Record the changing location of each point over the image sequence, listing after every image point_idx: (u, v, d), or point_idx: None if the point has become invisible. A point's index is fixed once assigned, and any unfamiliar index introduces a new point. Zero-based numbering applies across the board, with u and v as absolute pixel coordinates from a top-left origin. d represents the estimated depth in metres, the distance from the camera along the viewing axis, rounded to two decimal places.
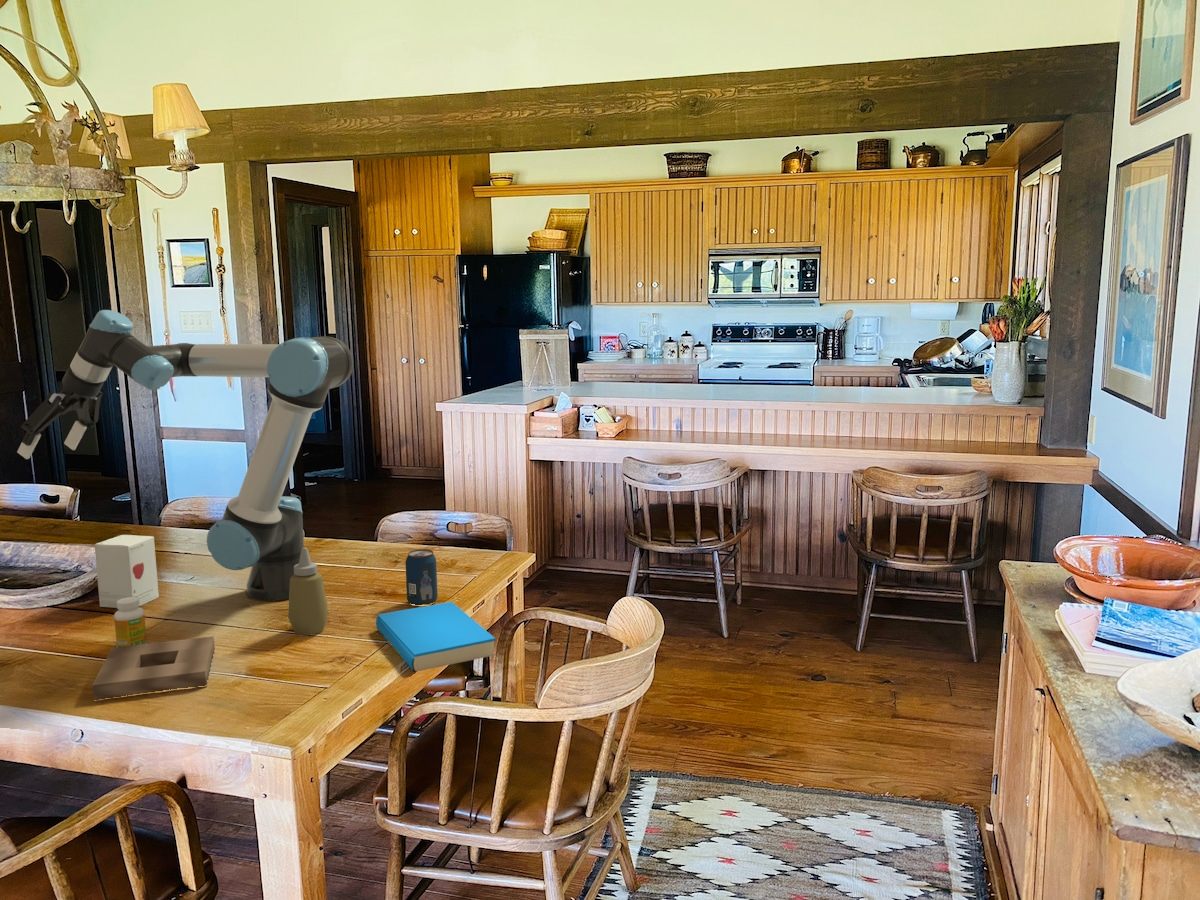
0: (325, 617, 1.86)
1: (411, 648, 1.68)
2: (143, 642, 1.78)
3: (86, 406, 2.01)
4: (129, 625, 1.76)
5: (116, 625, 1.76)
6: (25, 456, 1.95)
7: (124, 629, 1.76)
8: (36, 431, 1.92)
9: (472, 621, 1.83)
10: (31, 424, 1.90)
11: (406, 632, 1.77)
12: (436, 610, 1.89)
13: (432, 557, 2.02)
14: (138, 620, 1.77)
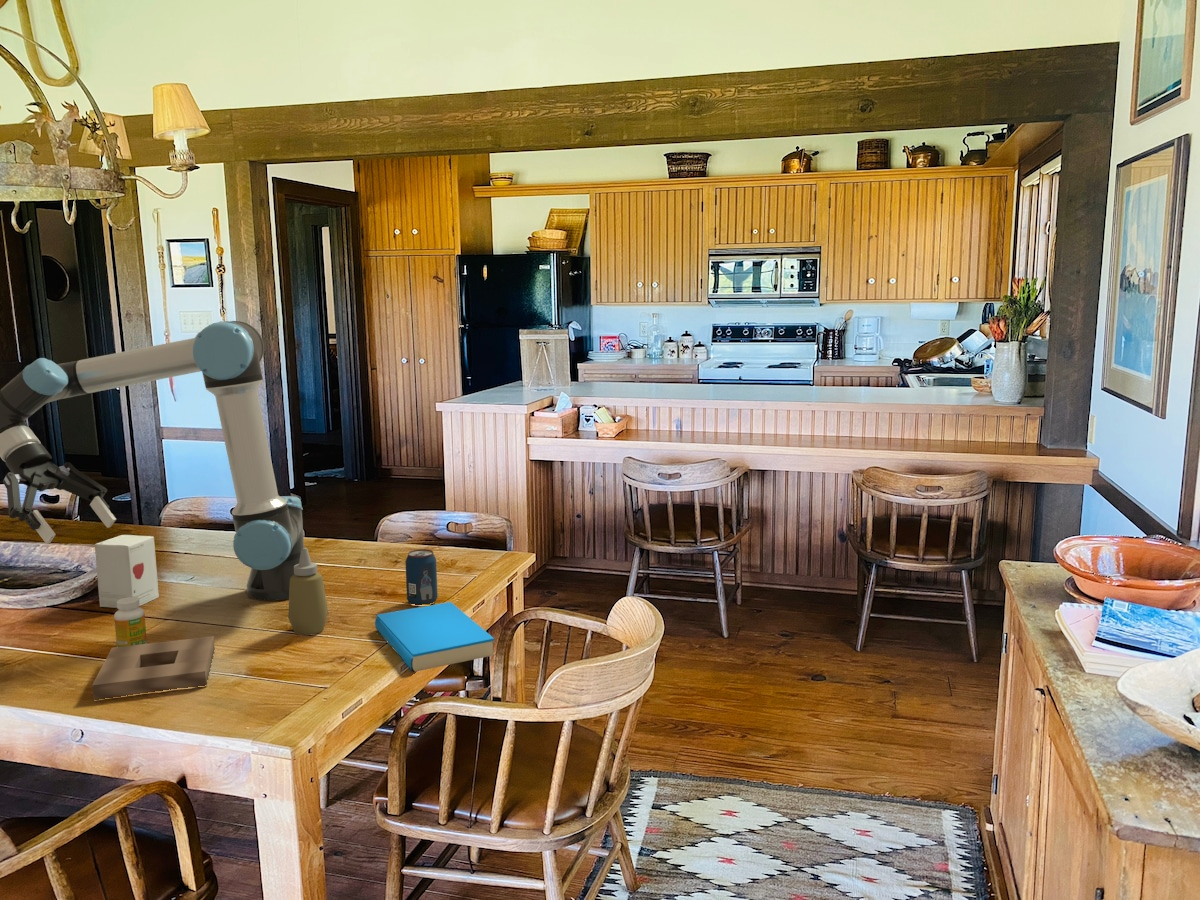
0: (325, 617, 1.86)
1: (410, 648, 1.68)
2: (143, 642, 1.78)
3: (61, 474, 1.83)
4: (129, 625, 1.76)
5: (116, 625, 1.76)
6: (50, 535, 1.72)
7: (124, 628, 1.76)
8: (25, 508, 1.72)
9: (471, 621, 1.83)
10: (11, 506, 1.72)
11: (405, 632, 1.77)
12: (435, 610, 1.89)
13: (432, 557, 2.02)
14: (138, 620, 1.77)
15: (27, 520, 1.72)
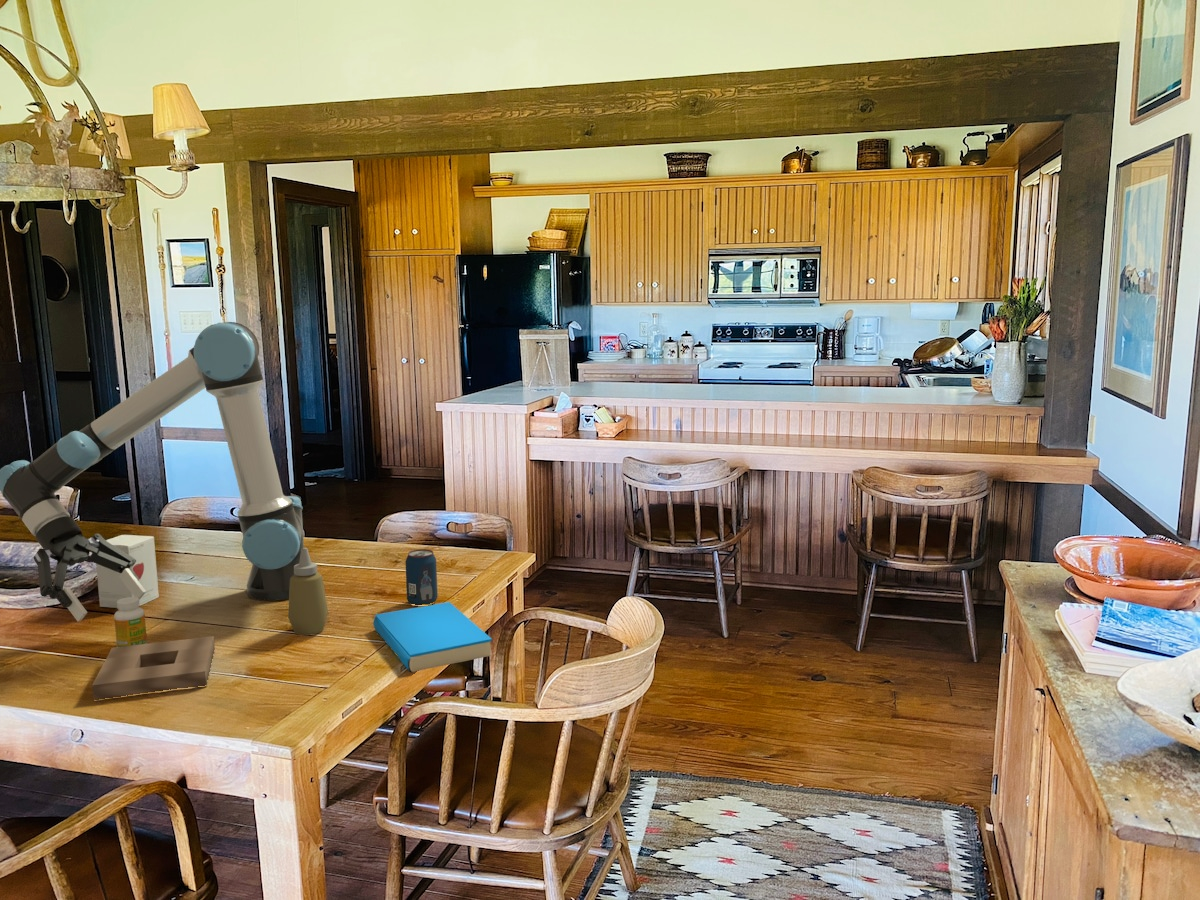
0: (325, 617, 1.86)
1: (407, 649, 1.68)
2: (143, 642, 1.78)
3: (90, 547, 1.82)
4: (129, 625, 1.76)
5: (116, 625, 1.76)
6: (81, 613, 1.71)
7: (124, 628, 1.76)
8: (56, 586, 1.71)
9: (469, 621, 1.82)
10: (43, 584, 1.71)
11: (403, 632, 1.77)
12: (433, 610, 1.89)
13: (432, 557, 2.02)
14: (138, 620, 1.77)
15: (58, 598, 1.71)
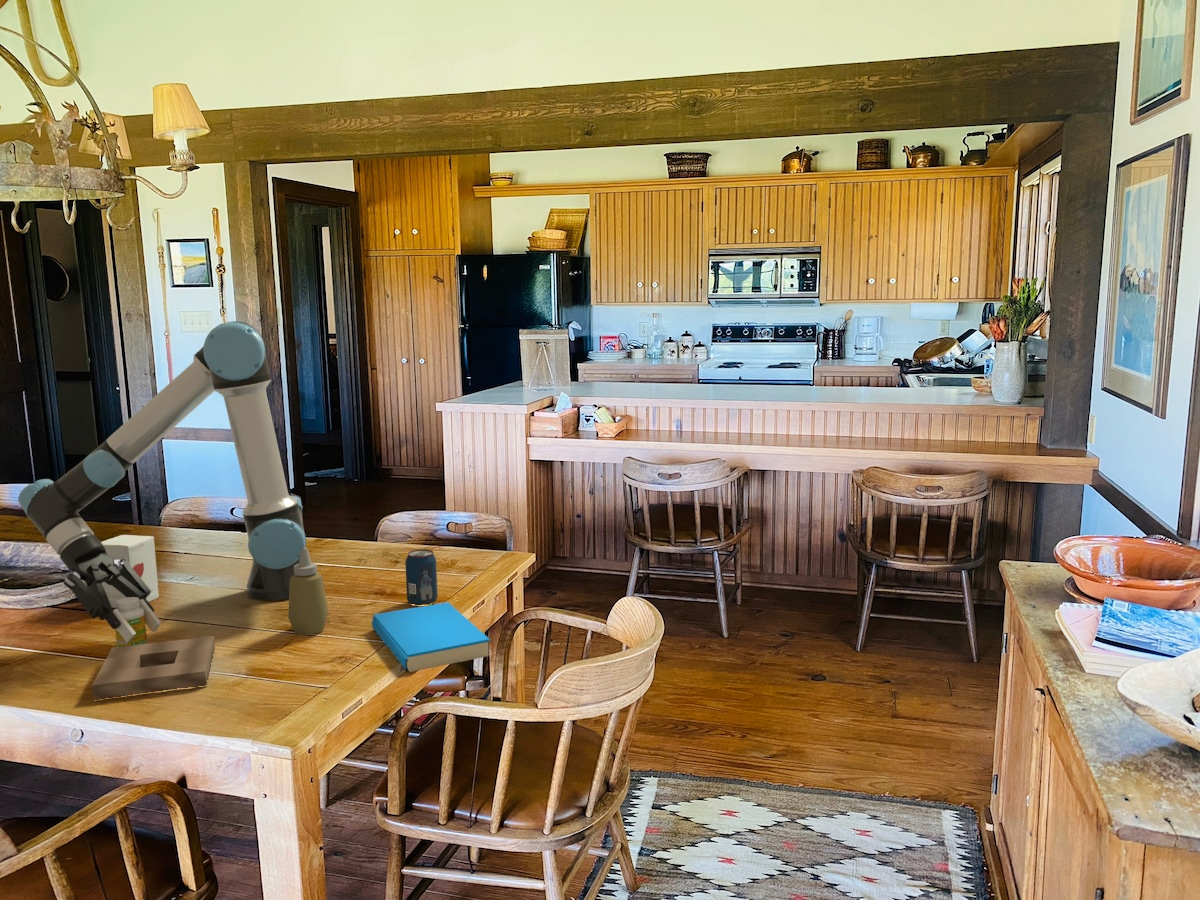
0: (325, 617, 1.86)
1: (405, 649, 1.68)
2: (143, 642, 1.78)
3: (113, 568, 1.80)
4: None
5: None
6: (130, 634, 1.74)
7: None
8: (105, 608, 1.74)
9: (467, 622, 1.82)
10: (91, 607, 1.72)
11: (401, 632, 1.77)
12: (432, 610, 1.89)
13: (432, 557, 2.02)
14: (138, 620, 1.77)
15: (108, 620, 1.74)
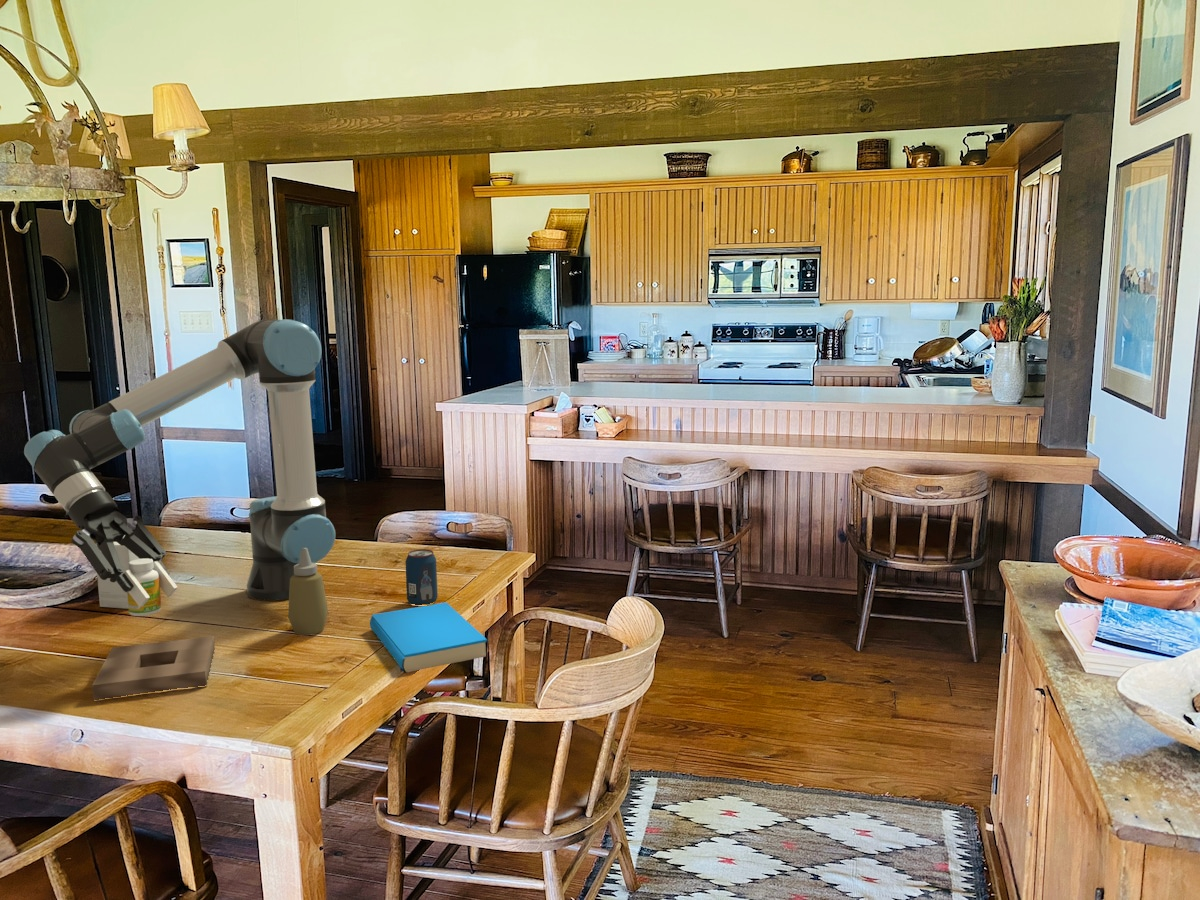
0: (325, 617, 1.86)
1: (402, 649, 1.68)
2: (157, 607, 1.64)
3: (125, 527, 1.66)
4: None
5: None
6: (143, 598, 1.59)
7: None
8: (117, 569, 1.59)
9: (465, 622, 1.82)
10: (101, 568, 1.58)
11: (398, 632, 1.77)
12: (430, 611, 1.89)
13: (432, 557, 2.02)
14: (152, 583, 1.62)
15: (119, 581, 1.59)
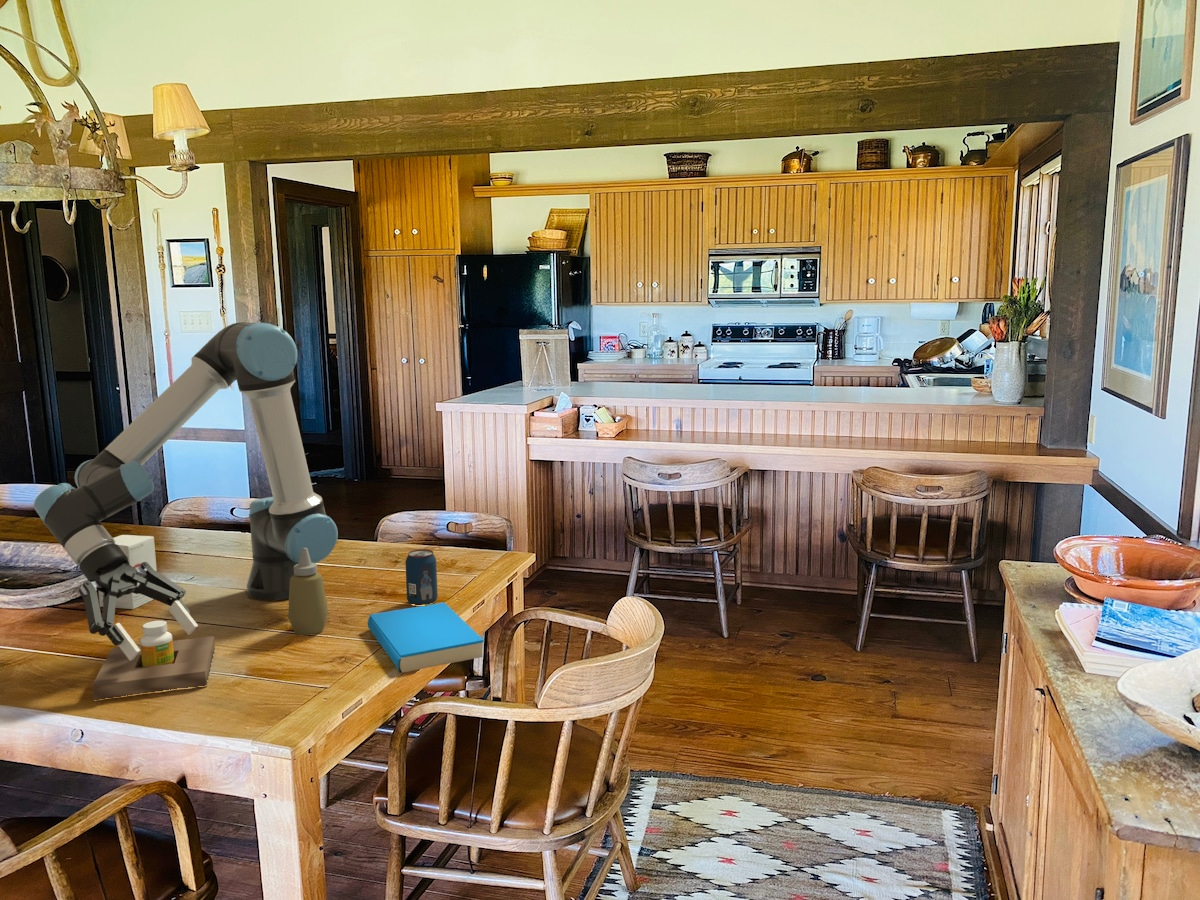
0: (325, 617, 1.86)
1: (398, 649, 1.68)
2: None
3: (138, 577, 1.67)
4: (157, 651, 1.63)
5: (142, 651, 1.63)
6: (134, 651, 1.57)
7: (151, 655, 1.62)
8: (106, 622, 1.57)
9: (462, 622, 1.82)
10: (92, 620, 1.56)
11: (395, 632, 1.77)
12: (428, 611, 1.89)
13: (432, 557, 2.02)
14: (166, 645, 1.64)
15: (109, 635, 1.57)
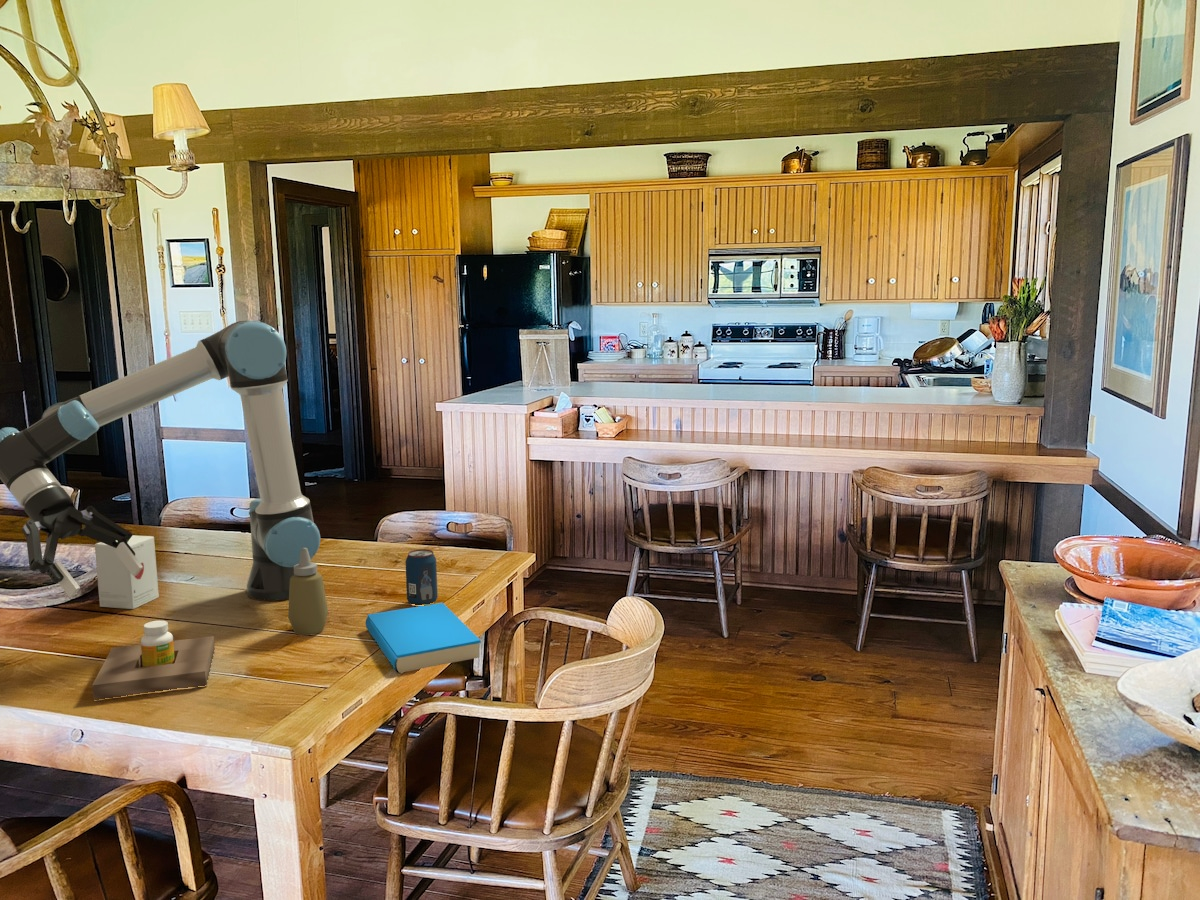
0: (325, 617, 1.86)
1: (395, 649, 1.68)
2: None
3: (83, 519, 1.70)
4: (157, 651, 1.63)
5: (142, 651, 1.63)
6: (74, 588, 1.60)
7: (151, 655, 1.62)
8: (46, 559, 1.60)
9: (460, 622, 1.82)
10: (32, 557, 1.59)
11: (393, 632, 1.76)
12: (426, 611, 1.89)
13: (432, 557, 2.02)
14: (167, 645, 1.64)
15: (49, 572, 1.60)
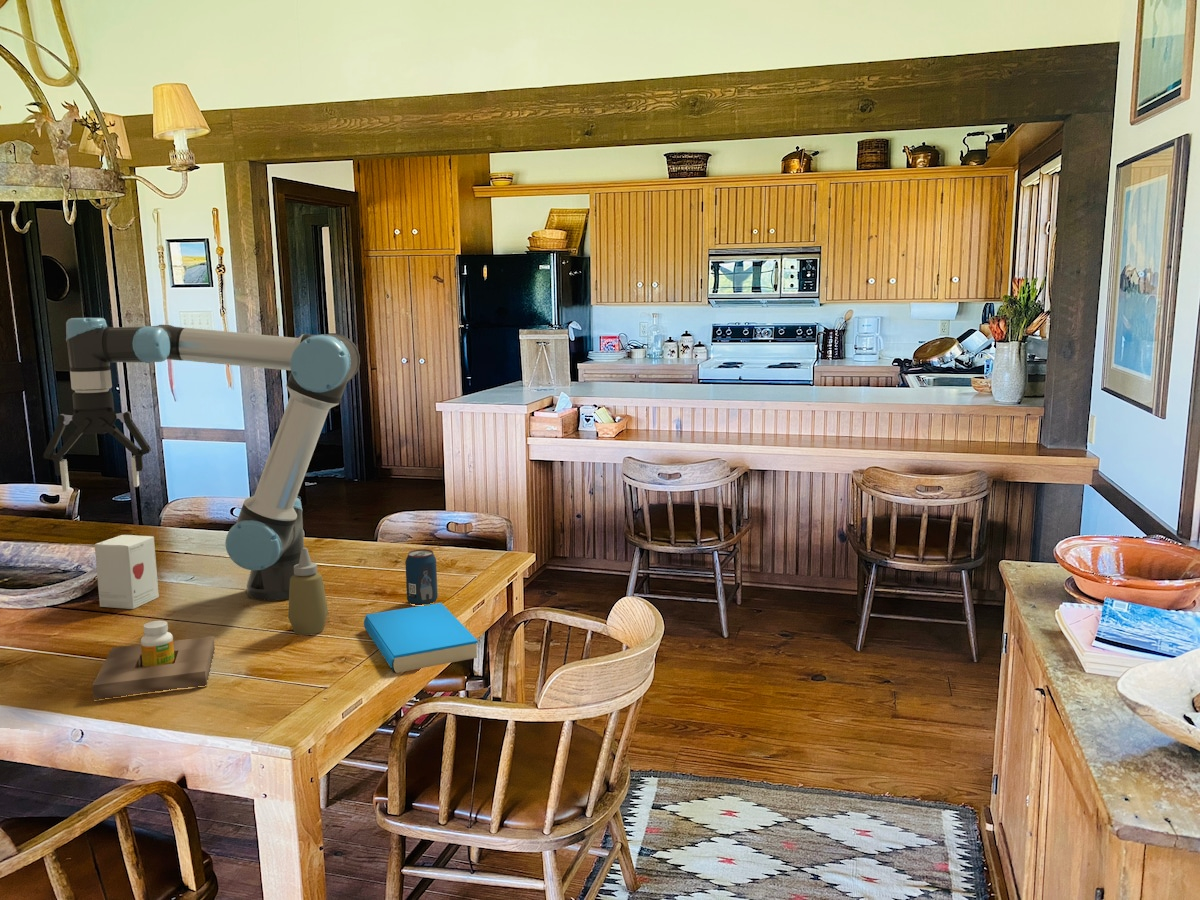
0: (325, 617, 1.86)
1: (392, 649, 1.68)
2: None
3: (108, 427, 1.90)
4: (157, 651, 1.62)
5: (142, 651, 1.63)
6: None
7: (151, 655, 1.62)
8: (54, 456, 1.88)
9: (458, 623, 1.82)
10: None
11: (390, 632, 1.76)
12: (424, 611, 1.89)
13: (432, 557, 2.02)
14: (166, 646, 1.64)
15: None
